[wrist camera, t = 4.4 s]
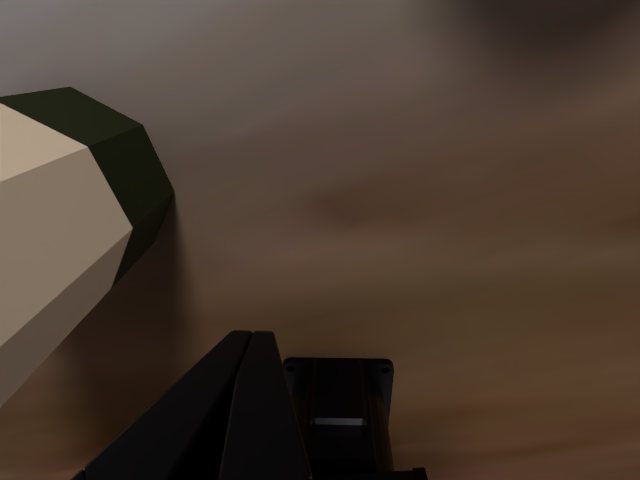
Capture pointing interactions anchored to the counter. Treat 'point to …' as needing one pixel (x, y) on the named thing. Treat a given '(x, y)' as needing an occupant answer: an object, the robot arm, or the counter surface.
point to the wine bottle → (67, 217)
